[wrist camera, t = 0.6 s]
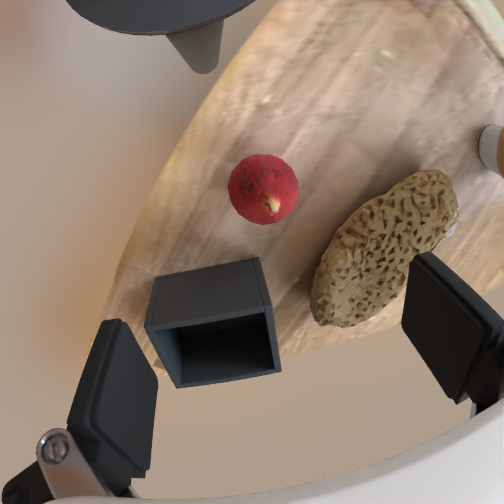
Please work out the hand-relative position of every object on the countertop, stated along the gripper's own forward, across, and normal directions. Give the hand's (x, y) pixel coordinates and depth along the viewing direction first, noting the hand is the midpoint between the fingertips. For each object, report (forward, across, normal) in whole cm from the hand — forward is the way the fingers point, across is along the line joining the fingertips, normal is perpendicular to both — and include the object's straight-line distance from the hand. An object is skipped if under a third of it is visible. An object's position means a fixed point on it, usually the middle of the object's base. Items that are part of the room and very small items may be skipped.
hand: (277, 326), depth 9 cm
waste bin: (+22, +5, +14) cm, 26 cm away
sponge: (+22, -14, +10) cm, 28 cm away
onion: (+21, -2, +1) cm, 21 cm away
